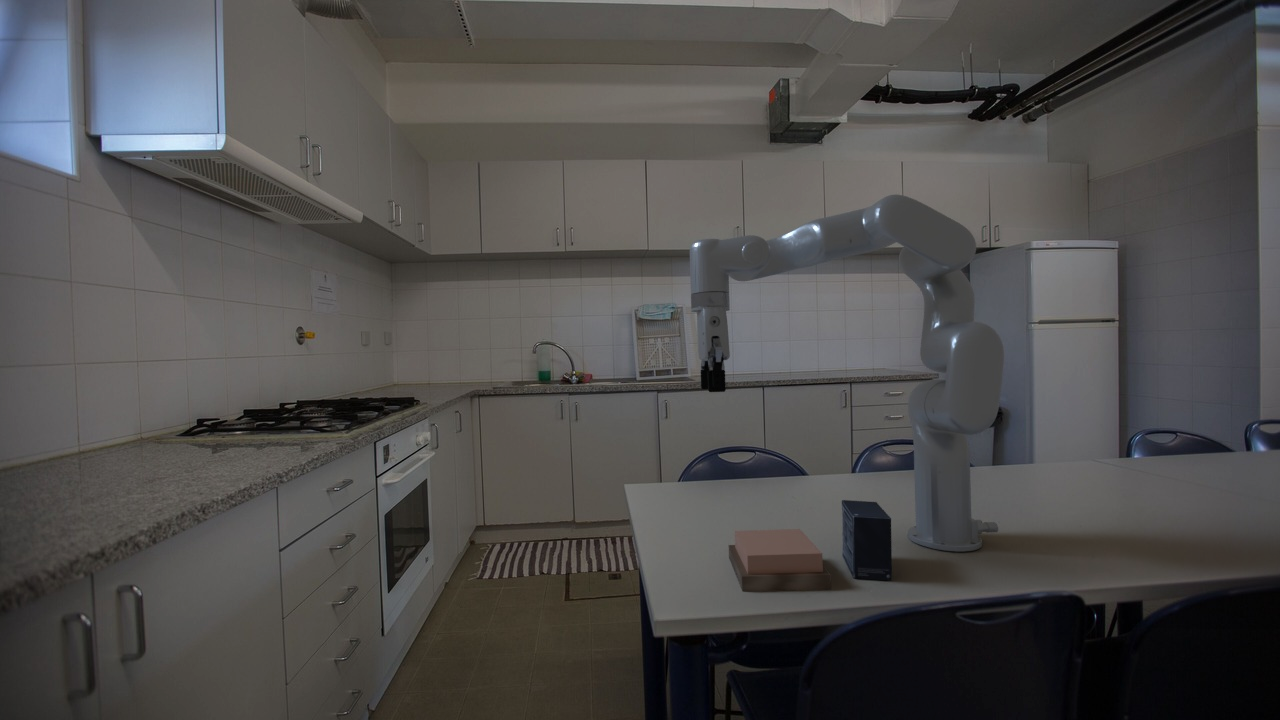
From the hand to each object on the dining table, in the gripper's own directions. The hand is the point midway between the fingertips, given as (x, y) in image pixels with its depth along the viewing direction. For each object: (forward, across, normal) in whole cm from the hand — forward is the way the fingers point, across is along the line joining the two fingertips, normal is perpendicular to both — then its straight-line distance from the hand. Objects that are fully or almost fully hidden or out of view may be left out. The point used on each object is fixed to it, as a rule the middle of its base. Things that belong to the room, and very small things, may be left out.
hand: (712, 390), depth 102 cm
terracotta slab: (+28, -13, -8) cm, 32 cm away
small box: (+31, -13, -24) cm, 41 cm away
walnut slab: (+32, -13, -8) cm, 35 cm away
